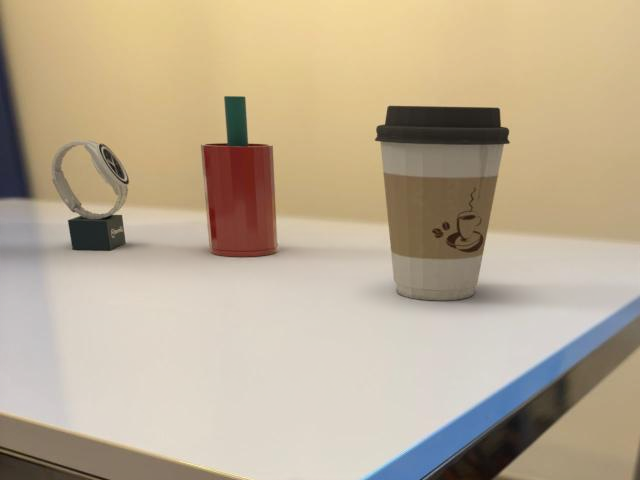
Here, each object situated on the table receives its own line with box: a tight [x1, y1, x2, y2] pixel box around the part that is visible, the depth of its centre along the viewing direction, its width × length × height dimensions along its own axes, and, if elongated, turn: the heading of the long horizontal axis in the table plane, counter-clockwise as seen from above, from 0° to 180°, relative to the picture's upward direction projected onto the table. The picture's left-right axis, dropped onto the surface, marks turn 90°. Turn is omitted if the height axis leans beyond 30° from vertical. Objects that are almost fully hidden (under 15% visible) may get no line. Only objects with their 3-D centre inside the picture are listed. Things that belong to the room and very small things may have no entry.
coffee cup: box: [374, 105, 511, 301], centre depth 68 cm, size 11×11×15 cm
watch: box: [51, 140, 130, 251], centre depth 88 cm, size 6×8×11 cm
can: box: [200, 142, 278, 258], centre depth 86 cm, size 8×8×11 cm
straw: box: [223, 95, 249, 146], centre depth 85 cm, size 2×2×15 cm
